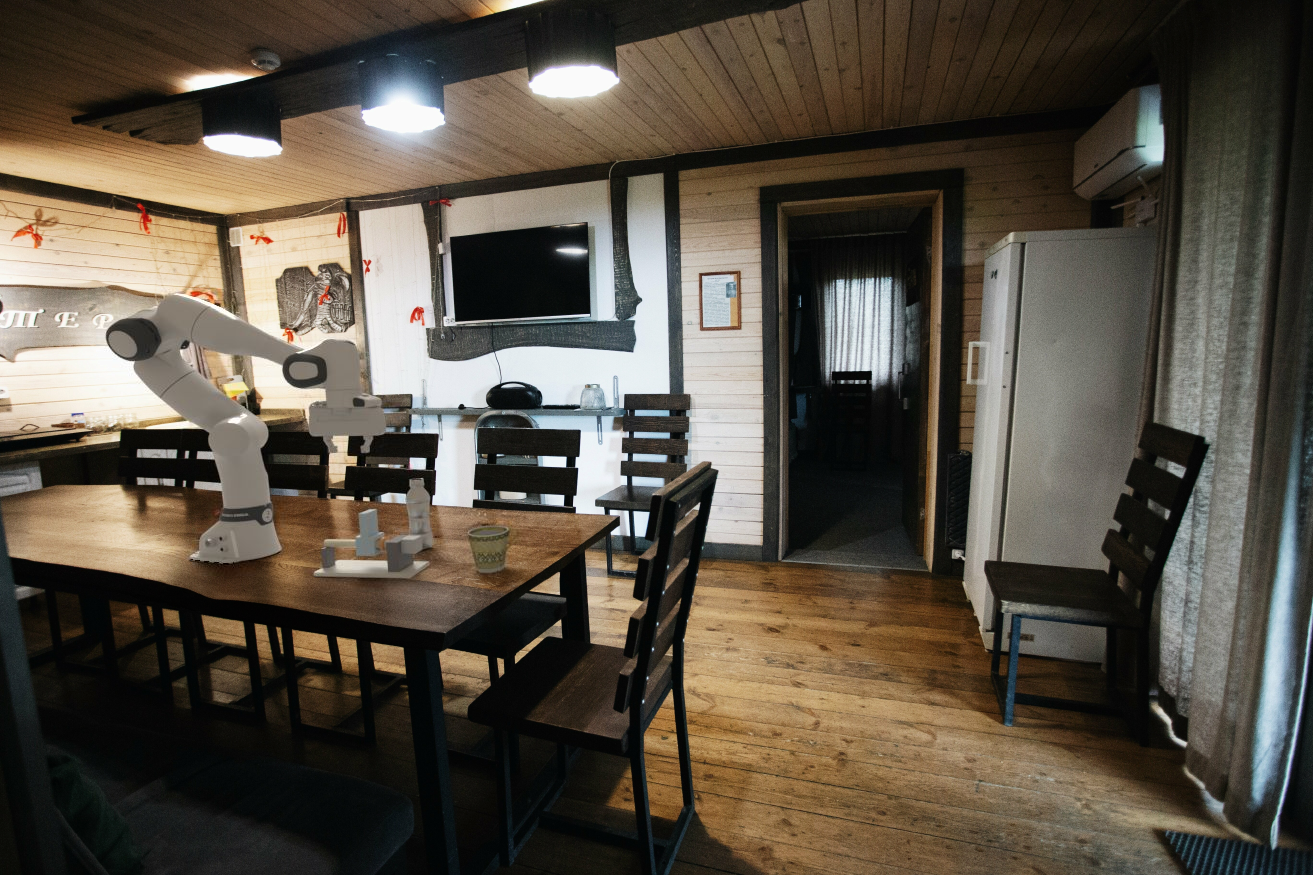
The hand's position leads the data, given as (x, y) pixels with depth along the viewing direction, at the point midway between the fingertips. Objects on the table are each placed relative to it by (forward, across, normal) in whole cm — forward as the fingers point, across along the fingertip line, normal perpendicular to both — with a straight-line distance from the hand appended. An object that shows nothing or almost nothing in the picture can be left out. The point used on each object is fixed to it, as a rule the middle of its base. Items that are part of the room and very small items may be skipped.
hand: (349, 452), depth 170 cm
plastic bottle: (+29, +13, +10) cm, 34 cm away
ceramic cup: (+29, +41, -5) cm, 51 cm away
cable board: (+29, +10, -9) cm, 32 cm away
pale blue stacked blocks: (+24, +10, -9) cm, 28 cm away
